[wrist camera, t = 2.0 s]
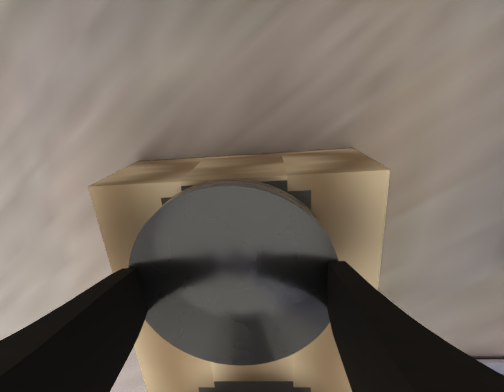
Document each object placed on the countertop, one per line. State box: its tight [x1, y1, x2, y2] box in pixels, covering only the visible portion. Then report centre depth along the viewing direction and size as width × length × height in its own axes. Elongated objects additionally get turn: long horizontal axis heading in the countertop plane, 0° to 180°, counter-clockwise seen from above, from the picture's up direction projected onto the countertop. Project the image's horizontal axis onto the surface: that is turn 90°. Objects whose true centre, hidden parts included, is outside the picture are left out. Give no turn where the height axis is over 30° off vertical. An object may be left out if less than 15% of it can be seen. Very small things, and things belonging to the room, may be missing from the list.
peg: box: [128, 179, 339, 366], centre depth 12 cm, size 8×8×5 cm
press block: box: [88, 148, 390, 392], centre depth 17 cm, size 13×19×5 cm
